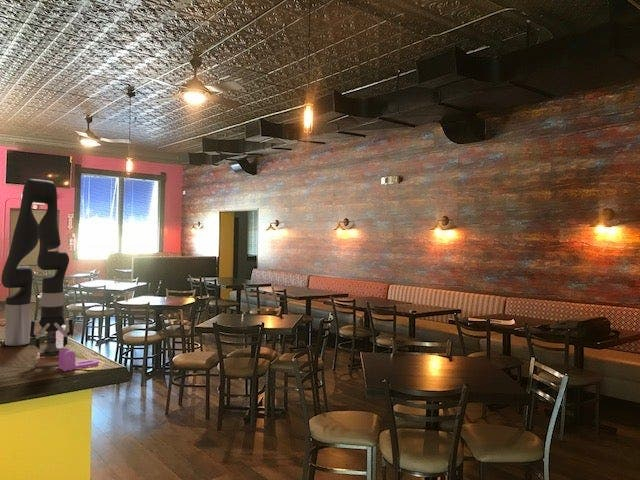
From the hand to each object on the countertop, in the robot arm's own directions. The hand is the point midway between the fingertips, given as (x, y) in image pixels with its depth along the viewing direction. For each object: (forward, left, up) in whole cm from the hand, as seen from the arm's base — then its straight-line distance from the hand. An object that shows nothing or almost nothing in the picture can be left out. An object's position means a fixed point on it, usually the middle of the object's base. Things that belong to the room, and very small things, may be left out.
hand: (51, 347), depth 192 cm
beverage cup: (-24, +3, -6) cm, 25 cm away
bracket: (+10, +9, -6) cm, 15 cm away
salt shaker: (0, 0, -5) cm, 5 cm away
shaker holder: (0, 0, -6) cm, 6 cm away
